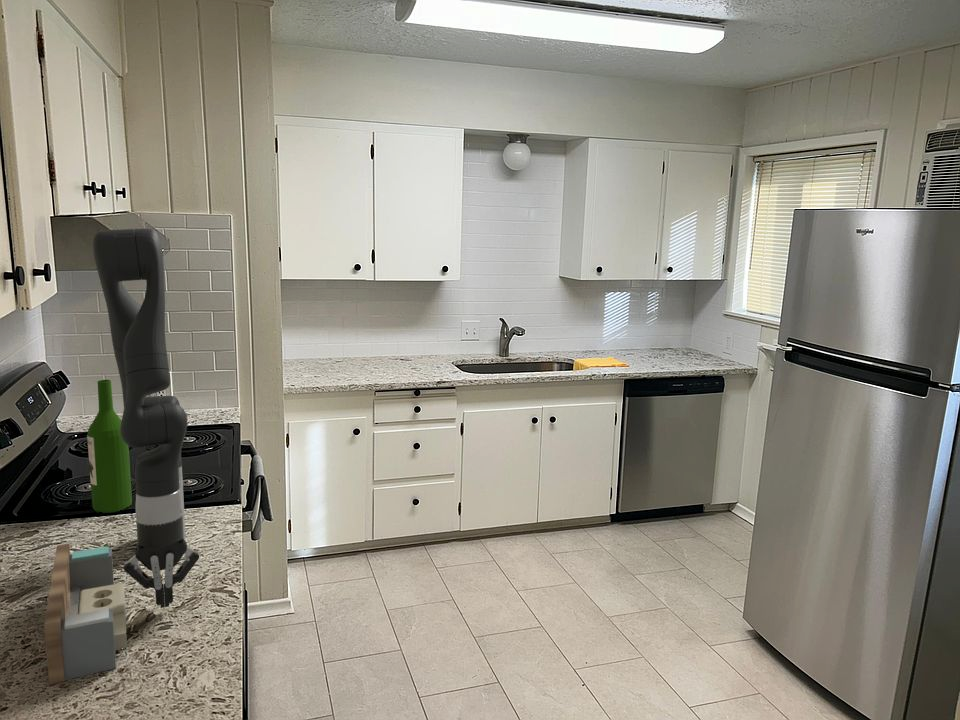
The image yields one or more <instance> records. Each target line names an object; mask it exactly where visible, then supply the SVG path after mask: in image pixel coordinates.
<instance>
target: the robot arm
mask: <svg viewBox="0 0 960 720" xmlns="http://www.w3.org/2000/svg"><path fill="white" fill-rule="evenodd" d="M92 248H93V249H92V250H93V256H94V257H93V258H94V262H95V267H96V271H97V274H98V277H99V281H100V285H101V289H102V293H103V296H104V299H105V304H106V308H107V313H108V314H107V315H108V321H109V327H110V335H111V336H110V337H111V343H112V346H113V352H114V357H115V361H116V365H117V369H118V374H119V380H120V383H121V392H122V403H123V411H122V416H121V427H120V432H121V437H122V439H123V441H124V442H125V443H126V444H127V445H128V446H129V448H130V447H131V448H134V449H135V448H136V449H137V448H144V447H151V446H157V447H155V448H152V449H149V450H147V451H145V452H142V453H140V454H139V455H138V456H137V457H136V458H135V466H134V477H135V478H134V479H135V480H134V481H135V490H136V491H135V492H136V493H135V520H136V521H135V522H136V535H137V536H136V537H137V546H136V547H137V548H136V549H135V550H134V551H135V552H134V554H135V555H133V556H132V557H130V559H125V560H124V561H123V570H124V572H125V573H127V574H128V575H129V576H130V577H131V578H132V579H133V580H135V582H137V583H138V584H139V585H141V586H142V587H143V588H144V589H153V590H155V604H156V606H160V608H161V609H162V608H163V609H164V608H169V607H170V604H172V603H174V594H173V593H174V592H173V587H174V585H175V584H181V583H182V582H183V581H184V579H185V578H186V577H187V575H188V574H189V573H190V571H191V570H192V568H193V567H194V566H195V565H196V563H197V562H198V561H199V559H200V554H199V550H198V549H197V548H194V549H192V548H190V547H189V546H188V544H187V542H186V525H185V523H186V521H185V504H184V503H185V502H184V484H183V483H184V482H183V479H184V478H183V466H182V465H183V464H182V463H183V461H182V447H183V444H184V440H185V438H186V433H187V429H188V417H187V413H186V411H185V409H184V408H183V407H182V406H181V405H180V401H179V400H178V398H177V397H176V396H175V395H161V396H159V395H158V396H149V395H153V394H156V393H160V392H162V391H165V390H167V389H168V388H170V385H171V373H170V366H169V359H168V351H167V344H166V298H165V297H166V291H165V290H166V289H165V287H166V286H165V262H164V254H163V247H162V244H161V239H160V237H159V234H158V233H157V232H156V231H155V230H154V229H152V228H130V229H129V228H127V229H125V228H123V229H106V230H100V231H97V232H96V233H95V235H94V236H93V241H92ZM141 280H142V281H146V286H145V287H146V288H145V289H146V290H145V293H144V294H145V295H144V298H143V300H142V301H143V302H142V304H140V303H139V302H137V300H135V298H133V297H132V296H131V294H130V293H129V292H128V290H127V288H126V287H125V285H124V283H123V282H127V281H141ZM183 556H184V561H183V562H182V563H181V565H180V566H179V567H178V569H177V570H176V571H175V573H174V567H176V566H177V565H178V564H179V562H180V561H181V559H182V558H183ZM139 562H140V563H139ZM140 564H142V565H143V566H144V567H145V568H146V569H147V570H149V571H151V573H152V577H150V576H149V575H148V574H147V573H146V572H145V571H144V570H142V569H141V568H140ZM162 570H164V583H163V580H162V574H161V571H162Z"/></svg>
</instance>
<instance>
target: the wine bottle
mask: <svg viewBox="0 0 960 720" xmlns="http://www.w3.org/2000/svg"><path fill="white" fill-rule="evenodd" d="M97 396H98V397H97V398H98V399H97V400H98V411H97V414H96V416H95V418H94V419H93V420H92V422H91V424H90V426H89V427H88V429H87V435H86V438H87V449H88V451H87V452H88V453H87V454H88V464H89V465H88V466H89V477H90V491H91V492H90V493H91V506H92V510H93V509H94V510H95V511H98V512H97V513H99V512H102V513H101V514H111V513H116V512H117V511H118V512H120V510H122V511H124V510H123V509H125V508H127V507H129V506H130V505H131V506H132V504H133V495H132V493H133V491H132V480H131V477H132V476H131V465H130V464H131V461H130V446H128V445H127V444H126V443H125V442H124V441H123V439H122V437H121V432H120V427H121V420H122V418H120V417H119V415H118V414H117V412H115V409H114V402H113V401H114V400H113V391H112V380H111V379H100V380H97ZM131 506H130V507H131ZM130 507H129V508H130ZM127 509H128V508H127ZM94 510H93V511H94ZM125 510H126V509H125ZM95 511H94V512H95Z"/></svg>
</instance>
